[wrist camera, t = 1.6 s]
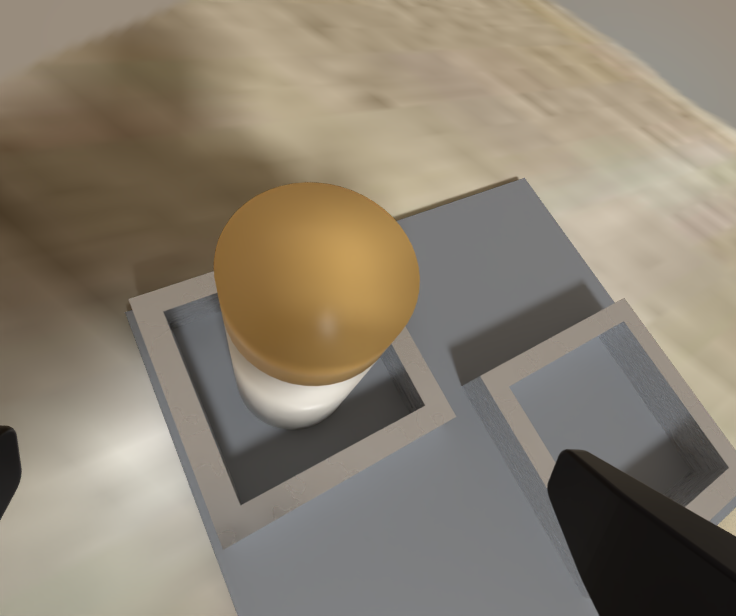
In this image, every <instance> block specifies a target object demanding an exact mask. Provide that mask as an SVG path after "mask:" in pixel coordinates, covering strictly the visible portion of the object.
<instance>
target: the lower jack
mask: <svg viewBox="0 0 736 616" xmlns="http://www.w3.org/2000/svg"><path fill="white" fill-rule="evenodd" d="M597 336H598V337H599V338H600V340H601V341H602V342H603V344H604V345H605V347H606V348H607V350H608V351H609V352H610V354H611V355H612V357H613V358H614V360H615V361H616V363H617V364H618V365H619V367H620V368H621V370H622V371H623V373H624V374H625V376H626V377H627V378H628V380H629V381H630V383H631V384H632V386H633V387H634V389H635V390H636V391H637V393H638V394H639V396H640V397H641V399H642V400H643V402H644V403H645V404H646V406H647V407H648V409H649V410H650V412H651V413H652V414H653V416H654V417H655V419H656V420H657V422H658V423H659V425H660V426H661V427H662V429H663V430H664V432H665V433H666V435H667V436H668V438H669V439H670V440H671V442H672V443H673V445H674V446H675V448H676V449H677V451H678V452H679V453H680V455H681V456H682V458H683V459H684V461H685V462H686V464H687V465H688V466H689V468H690V469H691V471H690V472H689V473H687V474H686V475H685V476H684V477H683V478H681V479H680V480H679V481H678V482H677V483H675V484H674V485H673V486H672V487H671V488H670V489H668V490H667V491H666V492H665V493H664V494H663V495H664V496H666V497H668V498H670V499H671V500H673V501H675V502H677V503H678V504H680V505H682V506H684V507H685V508H687V509H689V510H691V511H692V512H694V513H696V514H698V515H699V516H701V517H703V518H704V519H706V520H708V521H710V520H711V519H712V518H713V517H714V516H715V515H716V514H717V513H718V512H719V511H720V510H721V509H722V508H723V507H725V506H726V505H727V504H728V503H729V502H730V501H731V500H732V499H733V498H734V497H735V496H736V450H735V449H734V447H733V446H732V445H731V443H730V442H729V441H728V439H727V438H726V437H725V435H724V434H723V432H722V431H721V430H720V428H719V427H718V426H717V424H716V423H715V421H714V420H713V419H712V417H711V416H710V415H709V413H708V412H707V411H706V409H705V408H704V406H703V405H702V404H701V402H700V401H699V400H698V398H697V397H696V395H695V394H694V393H693V391H692V390H691V389H690V387H689V386H688V385H687V383H686V382H685V380H684V379H683V378H682V376H681V375H680V374H679V372H678V371H677V369H676V368H675V367H674V365H673V364H672V363H671V361H670V360H669V359H668V357H667V356H666V354H665V353H664V352H663V350H662V349H661V348H660V346H659V345H658V344H657V342H656V341H655V339H654V338H653V337H652V335H651V334H650V333H649V331H648V330H647V328H646V327H645V326H644V324H643V323H642V322H641V320H640V319H639V318H638V316H637V315H636V313H635V312H634V311H633V309H632V308H631V307H630V305H629V304H628V302H627V301H626V300H625V298H623V299H621V300H620V301H618V302H616V303H614V304H612V305H610V306H609V307H607V308H605V309H603V310H601V311H599V312H597V313H596V314H594V315H592V316H590V317H588V318H586V319H585V320H583V321H581V322H579V323H577V324H575V325H573V326H572V327H570V328H568V329H566V330H564V331H562V332H560V333H559V334H557V335H555V336H553V337H551V338H549V339H548V340H546V341H544V342H542V343H540V344H538V345H536V346H535V347H533V348H531V349H529V350H527V351H525V352H523V353H522V354H520V355H518V356H516V357H514V358H512V359H511V360H509V361H507V362H505V363H503V364H501V365H499V366H498V367H496V368H494V369H492V370H490V371H488V372H487V373H485V374H483V375H481V376H479V377H477V378H476V379H474V380H472V381H470V382H468V383H467V384H465V385H463V386H461V387H462V388H463V390H464V392H465V393H466V395H467V397H468V399H469V400H470V402H471V404H472V406H473V407H474V409H475V411H476V412H477V414H478V416H479V418H480V419H481V421H482V423H483V425H484V426H485V428H486V430H487V431H488V433H489V435H490V437H491V438H492V440H493V442H494V444H495V445H496V447H497V449H498V450H499V452H500V454H501V456H502V457H503V459H504V461H505V463H506V464H507V466H508V468H509V469H510V471H511V473H512V475H513V476H514V478H515V480H516V482H517V483H518V485H519V487H520V489H521V490H522V492H523V494H524V495H525V497H526V499H527V501H528V502H529V504H530V506H531V508H532V509H533V511H534V513H535V514H536V516H537V518H538V520H539V521H540V523H541V525H542V527H543V528H544V530H545V532H546V533H547V535H548V537H549V539H550V540H551V542H552V544H553V546H554V547H555V549H556V551H557V552H558V554H559V556H560V558H561V559H562V561H563V563H564V565H565V566H566V568H567V570H568V571H569V573H570V575H571V577H572V578H573V580H574V582H575V584H576V585H577V587H578V589H579V590H580V592H581V594H582V596H583V597H585V598H589V599H590V597H589V594H588V592H587V590H586V588H585V586H584V584H583V582H582V580H581V577H580V575H579V572H578V570H577V568H576V565H575V563H574V560H573V558H572V555H571V553H570V550H569V548H568V545H567V542H566V540H565V537H564V535H563V532H562V530H561V527H560V525H559V522H558V520H557V517H556V515H555V512H554V510H553V507H552V504H551V502H550V499H549V496H548V492H547V485H548V481H549V478H550V476H551V473H552V471H553V468H554V466H555V461H554V460H553V458H552V456H551V455H550V453H549V451H548V450H547V448H546V446H545V445H544V443H543V442H542V440H541V438H540V437H539V435H538V433H537V432H536V430H535V428H534V427H533V425H532V424H531V422H530V420H529V419H528V417H527V415H526V414H525V412H524V410H523V409H522V407H521V406H520V404H519V402H518V401H517V399H516V397H515V396H514V394H513V392H512V391H511V389H510V388H509V386H511V385H513V384H515V383H516V382H518V381H520V380H522V379H523V378H525V377H527V376H529V375H530V374H532V373H534V372H536V371H537V370H539V369H541V368H543V367H544V366H546V365H548V364H550V363H551V362H553V361H555V360H557V359H558V358H560V357H562V356H564V355H565V354H567V353H569V352H571V351H572V350H574V349H576V348H578V347H579V346H581V345H583V344H585V343H586V342H588V341H590V340H592V339H593V338H595V337H597Z"/></svg>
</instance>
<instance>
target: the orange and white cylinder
mask: <svg viewBox="0 0 736 616" xmlns="http://www.w3.org/2000/svg"><path fill="white" fill-rule="evenodd" d="M214 278H215V283H216V288H217V293H218V298H219V303H220V307H221V312H222V317H223V321H224V326H225V331H226V336H227V340H228V345H229V350H230V355H231V359H232V364H233V369H234V374H235V378H236V383H237V388H238V391H239V394H240V397H241V399H242V401H243V403H244V404H245V406H246V407H247V408H248V410H249V411H250V412H251V413H252V414H253V415H254V416H255V417H257V418H258V419H259V420H261V421H263V422H264V423H266V424H268V425H271V426H273V427H277V428H280V429H288V430H296V429H304V428H307V427H311V426H313V425H316V424H318V423H320V422H321V421H323V420H325V419H326V418H327V417H329V416H330V415H331V414H332V413H333V412H334V411H335V410H336V409H337V408H338V406H339V405H340V404H341V403H342V402H343V400H344V399H345V398H346V397H347V396H348V394H349V393H350V392H351V391H352V390H353V389H354V387H355V386H356V385H357V384H358V383H359V381H360V380H361V379H362V378H363V377H364V375H365V374H366V373H367V372H368V371H369V370H370V368H371V367H372V366H373V365H374V364H375V362H376V361H377V360H378V359H379V358H380V356H381V355H382V354H383V353H384V352H385V351H386V349H387V348H388V347H389V346H390V345H391V343H392V342H393V341H394V340H395V339H396V337H397V336H398V335H399V334H400V333H401V331H402V330H403V329H404V327H405V326H406V325H407V323H408V321H409V320H410V318H411V316H412V314H413V312H414V309H415V306H416V303H417V300H418V295H419V287H420V275H419V266H418V262H417V258H416V254H415V252H414V249H413V246H412V244H411V242H410V241H409V239H408V237H407V235H406V234H405V232H404V231H403V229H402V228H401V226H400V225H399V224H398V223H397V222H396V220H395V219H394V218H393V217H392V216H391V215H390V214H389V213H388V212H387V211H385V210H384V209H383V208H382V207H380V206H379V205H378V204H376V203H375V202H373V201H372V200H370V199H368V198H367V197H365V196H363V195H361V194H359V193H357V192H354V191H352V190H349V189H346V188H343V187H340V186H335V185H331V184H324V183H309V182H304V183H293V184H288V185H283V186H279V187H276V188H273V189H270V190H267V191H265V192H263V193H261V194H259V195H257V196H255V197H254V198H252V199H251V200H249V201H248V202H246V203H245V204H244V205H243V206H242V207H241V208H239V209H238V210H237V211H236V212H235V214H234V215H233V216H232V217H231V218H230V220H229V221H228V223H227V224H226V226H225V227H224V229H223V231H222V233H221V235H220V237H219V240H218V243H217V247H216V250H215V257H214Z"/></svg>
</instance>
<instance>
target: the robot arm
mask: <svg viewBox="0 0 736 616" xmlns="http://www.w3.org/2000/svg"><path fill="white" fill-rule="evenodd" d="M21 472H22V471H21V462H20V455H19V448H18V441H17V435H16V432H15V430H14V429H13V428H12V427H10V426H1V425H0V520H1V518H2V516H3V514H4V512H5V510H6V508H7V507H8V505H9V503H10V501H11V499H12V497H13V495H14V494H15V492H16V490H17V488H18V485H19V483H20V479H21ZM547 492H548V496H549V499H550V502H551V504H552V507H553V510H554V512H555V515H556V517H557V520H558V522H559V525H560V527H561V530H562V532H563V535H564V537H565V540H566V542H567V545H568V548H569V550H570V553H571V555H572V558H573V560H574V563H575V565H576V568H577V570H578V572H579V575H580V577H581V580H582V582H583V584H584V586H585V588H586V590H587V592H588V594H589V597H590V599H591V601H592V603H593V605H594V607H595V609H596V611H597V613H598V615H599V616H736V536H734V535H732V534H731V533H729V532H727V531H725V530H724V529H722V528H720V527H718V526H717V525H715V524H713V523H711V522H710V521H708V520H706V519H704V518H703V517H701V516H699V515H698V514H696V513H694V512H692V511H691V510H689V509H687V508H685V507H684V506H682V505H680V504H678V503H677V502H675V501H673V500H671V499H670V498H668V497H666V496H664V495H663V494H661V493H659V492H658V491H656V490H654V489H652V488H651V487H649V486H647V485H645V484H644V483H642V482H640V481H638V480H637V479H635V478H633V477H631V476H630V475H628V474H626V473H624V472H623V471H621V470H619V469H618V468H616V467H614V466H612V465H611V464H609V463H607V462H605V461H604V460H602V459H600V458H598V457H597V456H595V455H593V454H591V453H590V452H588V451H585V450H579V449H565V450H563V451H562V452H561V453H560V454H559V456H558V458H557V461H556V463H555V466H554V468H553V471H552V473H551V476H550V478H549V481H548V485H547Z"/></svg>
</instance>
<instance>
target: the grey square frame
mask: <svg viewBox="0 0 736 616" xmlns="http://www.w3.org/2000/svg"><path fill="white" fill-rule="evenodd" d="M128 300H129V302H130V305H131V308H132V310H133V313H134V315H135V318H136V321H137V323H138V326H139V329H140V331H141V334H142V337H143V339H144V342H145V345H146V347H147V350H148V353H149V355H150V358H151V361H152V363H153V366H154V368H155V371H156V374H157V376H158V379H159V382H160V384H161V387H162V390H163V392H164V395H165V398H166V400H167V403H168V406H169V408H170V411H171V413H172V416H173V419H174V421H175V424H176V427H177V429H178V432H179V435H180V437H181V440H182V443H183V445H184V448H185V451H186V453H187V456H188V458H189V461H190V464H191V466H192V469H193V472H194V474H195V477H196V480H197V482H198V485H199V488H200V490H201V493H202V496H203V498H204V501H205V503H206V506H207V509H208V511H209V514H210V517H211V519H212V522H213V525H214V527H215V530H216V533H217V535H218V538H219V541H220V543H221V546H222V549H223V550H224V549H226V548H227V547H229V546H231V545H233V544H234V543H236V542H238V541H240V540H241V539H243V538H245V537H247V536H248V535H250V534H252V533H254V532H255V531H257V530H259V529H261V528H262V527H264V526H266V525H268V524H269V523H271V522H273V521H275V520H276V519H278V518H280V517H282V516H283V515H285V514H287V513H289V512H290V511H292V510H294V509H296V508H297V507H299V506H301V505H303V504H304V503H306V502H308V501H310V500H311V499H313V498H315V497H317V496H318V495H320V494H322V493H324V492H325V491H327V490H329V489H331V488H332V487H334V486H336V485H338V484H339V483H341V482H343V481H345V480H346V479H348V478H350V477H352V476H353V475H355V474H357V473H359V472H360V471H362V470H364V469H366V468H367V467H369V466H371V465H373V464H374V463H376V462H378V461H380V460H381V459H383V458H385V457H387V456H388V455H390V454H392V453H394V452H395V451H397V450H399V449H401V448H402V447H404V446H406V445H408V444H409V443H411V442H413V441H415V440H416V439H418V438H420V437H422V436H423V435H425V434H427V433H429V432H430V431H432V430H434V429H436V428H437V427H439V426H441V425H443V424H444V423H446V422H448V421H450V420H451V419H453V418H455V417H456V415H455V413H454V412H453V410H452V408H451V406H450V405H449V403H448V401H447V399H446V397H445V396H444V394H443V392H442V390H441V389H440V387H439V385H438V383H437V381H436V380H435V378H434V376H433V374H432V373H431V371H430V369H429V367H428V366H427V364H426V362H425V360H424V358H423V357H422V355H421V353H420V351H419V350H418V348H417V346H416V344H415V342H414V341H413V339H412V337H411V335H410V334H409V332H408V330H407V328H406V327H404V329H403V330H402V331H401V333H400V334H399V335H398V336H397V337H396V339H395V340H394V341H393V342H392V343H391V345H390V346H389V347H388V348H387V349H386V351H385V352H384V353H383V354H382V355H381V356H380V358H381V360H382V361H383V363H384V365H385V367H386V369H387V371H388V373H389V375H390V376H391V378H392V380H393V382H394V384H395V386H396V388H397V389H398V391H399V393H400V395H401V397H402V399H403V401H404V403H405V404H406V406H407V408H408V410H409V412H410V414H409V415H407V416H405V417H403V418H401V419H400V420H398V421H396V422H394V423H392V424H390V425H389V426H387V427H385V428H383V429H381V430H379V431H377V432H376V433H374V434H372V435H370V436H368V437H366V438H365V439H363V440H361V441H359V442H357V443H355V444H353V445H352V446H350V447H348V448H346V449H344V450H342V451H340V452H339V453H337V454H335V455H333V456H331V457H329V458H328V459H326V460H324V461H322V462H320V463H318V464H316V465H315V466H313V467H311V468H309V469H307V470H305V471H303V472H302V473H300V474H298V475H296V476H294V477H292V478H291V479H289V480H287V481H285V482H283V483H281V484H279V485H278V486H276V487H274V488H272V489H270V490H268V491H267V492H265V493H263V494H261V495H259V496H257V497H255V498H254V499H252V500H250V501H248V502H246V503H244V504H242V502H241V500H240V497H239V495H238V492H237V490H236V487H235V485H234V482H233V480H232V477H231V475H230V472H229V470H228V467H227V465H226V462H225V460H224V457H223V455H222V452H221V450H220V447H219V445H218V442H217V440H216V437H215V435H214V432H213V430H212V427H211V425H210V422H209V420H208V417H207V415H206V412H205V410H204V407H203V405H202V402H201V400H200V397H199V395H198V392H197V390H196V387H195V385H194V382H193V380H192V377H191V375H190V372H189V370H188V367H187V365H186V362H185V360H184V357H183V355H182V352H181V350H180V347H179V345H178V342H177V340H176V337H175V335H174V332H173V330H172V329H174V328H177V327H179V326H182V325H185V324H188V323H190V322H193V321H196V320H199V319H201V318H204V317H207V316H210V315H212V314H215V313H218V312H221V307H220V303H219V298H218V293H217V288H216V283H215V278H214V271H213V272H210V273H207V274H204V275H201V276H197V277H194V278H191V279H188V280H185V281H182V282H179V283H176V284H173V285H170V286H167V287H164V288H161V289H158V290H155V291H152V292H148V293H145V294H142V295H139V296H136V297H133V298H130V299H128Z"/></svg>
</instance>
